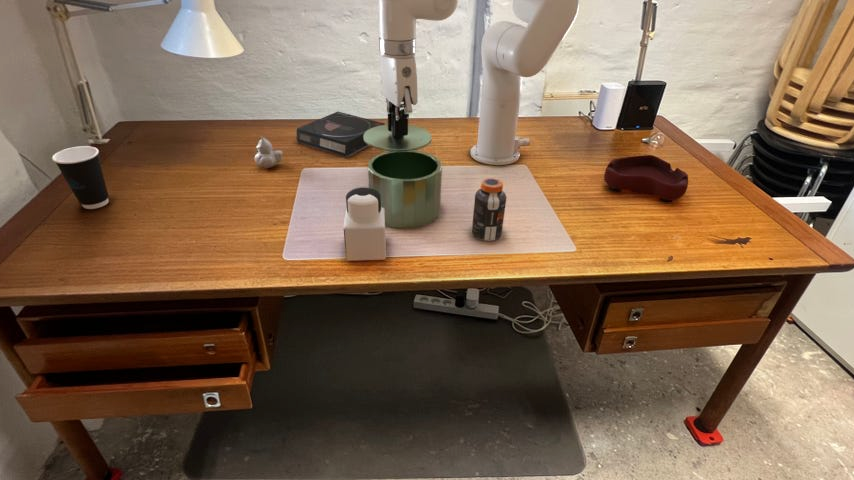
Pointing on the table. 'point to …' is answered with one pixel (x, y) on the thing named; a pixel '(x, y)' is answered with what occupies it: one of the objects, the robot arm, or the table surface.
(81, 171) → the dixie cup
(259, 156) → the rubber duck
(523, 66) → the robot arm
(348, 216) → the medicine bottle
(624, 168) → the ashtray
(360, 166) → the table surface
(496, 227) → the pill bottle
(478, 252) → the table surface
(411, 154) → the tin
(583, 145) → the table surface
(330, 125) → the portable cd player
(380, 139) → the lid
